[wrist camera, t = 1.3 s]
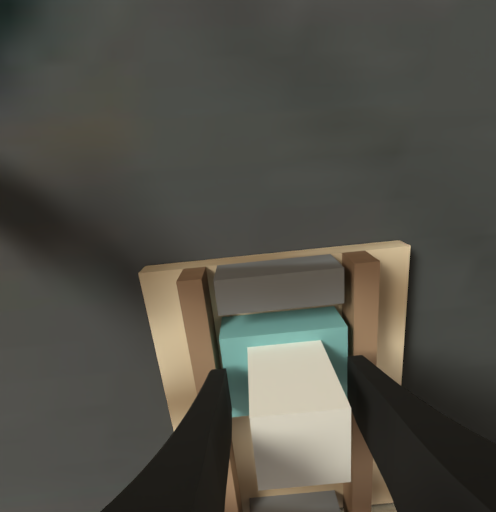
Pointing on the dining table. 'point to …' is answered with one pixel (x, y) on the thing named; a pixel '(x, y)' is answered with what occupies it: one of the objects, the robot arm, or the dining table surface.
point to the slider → (291, 393)
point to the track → (275, 300)
